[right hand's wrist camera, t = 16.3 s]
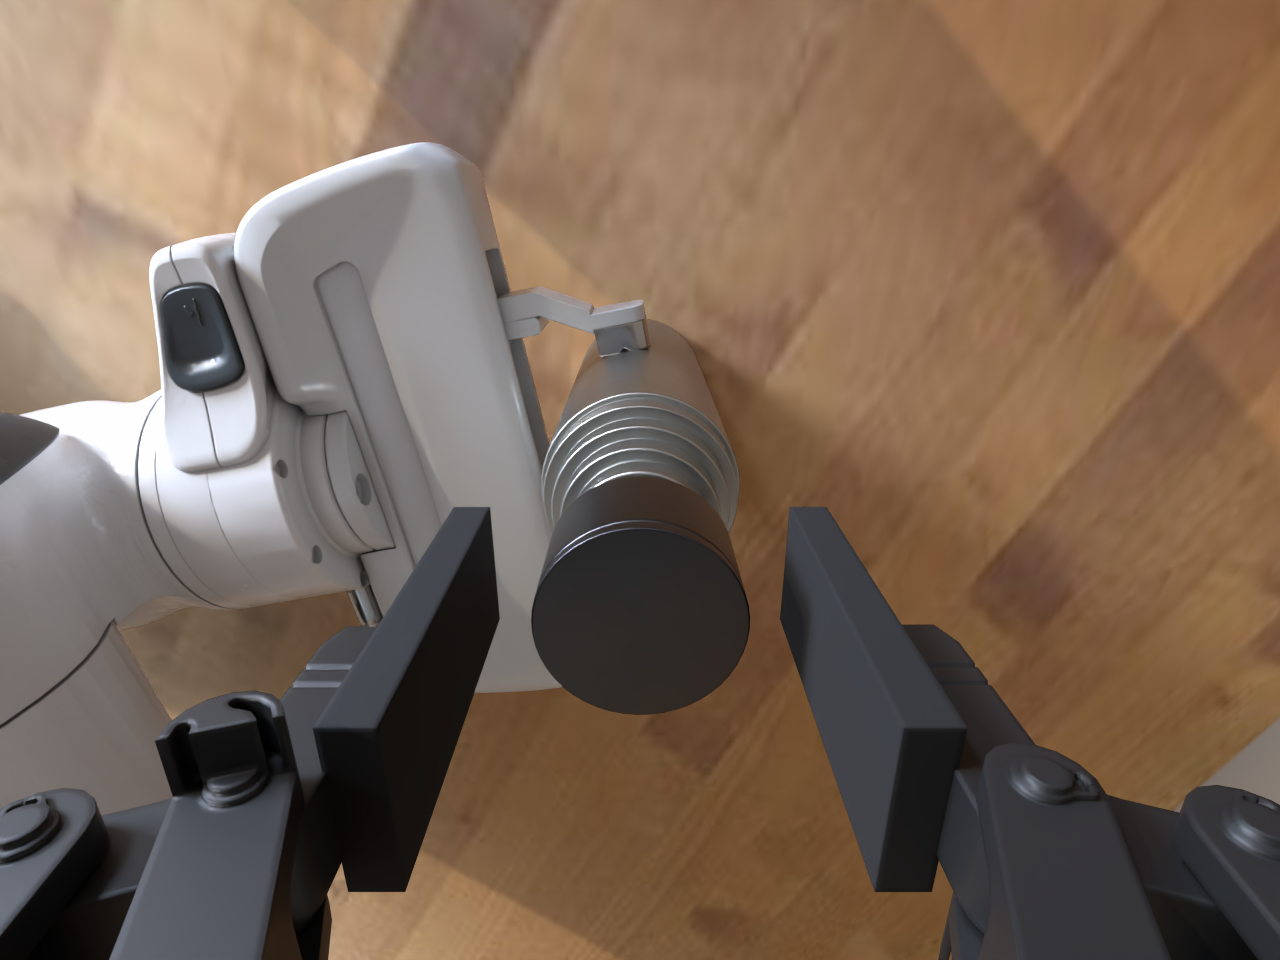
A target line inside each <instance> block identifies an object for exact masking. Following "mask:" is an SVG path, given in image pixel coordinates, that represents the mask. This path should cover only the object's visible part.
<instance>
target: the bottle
mask: <svg viewBox="0 0 1280 960" xmlns="http://www.w3.org/2000/svg"><path fill="white" fill-rule="evenodd" d="M647 325H648V331H649V337H650V346H649V347H647V348H644V349H640V350H628V349H626V348H624V349H623V350H622V351H621V352H620V353H617V354H614V355H608V356H603V357H600V354H599V350H598V346H597V341H596V339H595V340H594V342H593V343H592V344H591V346H590V347H589V349H588V351H587V353H586V355H585V357H584V360H583V362H582V365H581V367H580V370H579V372H578V375H577V377H576V380H575V383H574V385H573V388H572V390H571V393H570V395H569V398H568V400H567V403H566V405H565V408H564V410H563V413H562V416H561V418H560V421H559V423H558V426H557V428H556V431H555V433H554V436H553V438H552V441H551V444H550V446H549V449H548V451H547V454H546V457H545V460H544V464H543V469H542V475H541V493H542V501H543V505H544V512H545V516H546V520H547V523H548V526H549V528H550V530H551V533H552V534H553V531H554V528H555V526H556V524H557V522H558V521H559V519H560V517H561V516H562V514H563V513H564V512H565V510H566V509H567V508H568V507H569V506H570V505H571V504H572V503H573V502H574V501H575V500H576V499H577V498H579V497H580V496H581V495H582V494H584V493H585V492H587V491H589V490H590V489H592V488H594V487H595V486H598V485H600V484H603V483H605V482H608V481H611V480H615V479H618V478H625V477H631V476H648V477H658V478H662V479H666V480H670V481H673V482H676V483H679V484H681V485H683V486H685V487H687V488H689V489H691V490H693V491H694V492H696V493H697V494H699V495H700V496H701V497H703V498H704V499H705V500H706V501H707V502H708V503H709V504H710V505H711V506H712V507H713V508H714V509H715V511H716V512H717V513H718V514H719V516H720V517H721V519H722V521H723V522H724V524H725V526H726V529H727V531H728V533H729V532H730V530H731V528H732V525H733V523H734V519H735V515H736V512H737V504H738V499H739V491H740V476H739V470H738V464H737V461H736V458H735V454H734V452H733V449H732V447H731V444H730V442H729V439H728V437H727V434H726V431H725V429H724V426H723V424H722V421H721V419H720V416H719V414H718V411H717V409H716V406H715V404H714V401H713V399H712V396H711V394H710V391H709V388H708V386H707V383H706V381H705V378H704V376H703V373H702V371H701V368H700V366H699V363H698V361H697V358H696V356H695V354H694V351H693V349H692V348H691V346H690V345H689V343H688V342H687V341H686V340H685V338H684V337H683V336H682V335H680V334H679V333H678V332H677V331H676V330H674V329H673V328H671V327H669V326H667V325H665V324H663V323H660V322H657V321H653V320H648V319H647Z"/></svg>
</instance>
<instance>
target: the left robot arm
mask: <svg viewBox="0 0 1280 960" xmlns="http://www.w3.org/2000/svg"><path fill="white" fill-rule="evenodd" d="M149 279H150V289H151V297H152V304H153V311H154V318H155V326H156V334H157V343H158V352H159V362H160V374H161V390H159V391H157V392H156V393H154V394H152V395H150V396H149V397H147V398H145V399H143V400H141V401H138V402H133V403H126V402H116V401H106V400H100V401H83V402H76V403H71V404H66V405H61V406H56V407H52V408H47V409H42V410H38V411H33V412H29V413H25V414H21V415H15V414H9V413H3V412H0V809H1V808H2V807H4V806H6V805H8V804H10V803H12V802H15V801H17V800H20V799H23V798H25V797H28V796H31V795H33V794H36V793H38V792H44V791H49V790H55V789H61V788H71V789H80V790H85V791H86V792H87V793H88V794H90V795H91V796H92V797H94V798H95V800H96V803H97V806H98V808H99V811H100V814H101V816H102V815H106V814H110V813H114V812H118V811H123V810H127V809H131V808H135V807H140V806H144V805H148V804H152V803H157V802H160V801H164V800H167V799H170V798H172V797H173V796H172V793H171V790H170V787H169V784H168V780H167V777H166V774H165V771H164V768H163V765H162V762H161V759H160V756H159V753H158V750H157V747H156V744H155V740H156V738H157V737H158V736H159V734H160V733H161V732H162V730H163V729H164V728H165V726H166V725H167V724H168V723H170V722H171V721H172V719H171V718H170V716H169V714H168V713H167V711H166V709H165V708H164V706H163V704H162V703H161V701H160V699H159V698H158V696H157V694H156V693H155V691H154V689H153V687H152V686H151V684H150V682H149V681H148V679H147V677H146V676H145V674H144V672H143V671H142V669H141V667H140V666H139V664H138V662H137V661H136V659H135V657H134V656H133V654H132V652H131V650H130V649H129V647H128V645H127V644H126V642H125V640H124V639H123V637H122V635H121V634H120V632H119V630H122V629H128V628H133V627H137V626H141V625H145V624H149V623H152V622H155V621H157V620H160V619H162V618H164V617H166V616H169V615H171V614H172V613H174V612H176V611H178V610H181V609H184V608H188V607H195V608H203V609H210V610H238V609H244V608H251V607H257V606H262V605H268V604H274V603H280V602H286V601H291V600H297V599H303V598H308V597H314V596H320V595H326V594H332V593H338V592H344V591H347V594H348V596H349V599H350V601H351V604H352V606H353V609H354V611H355V614H356V616H357V618H358V620H359V622H360V624H361V626H362V627H377V626H378V625H379V623H380V622H381V620H382V619H383V617H384V615H385V614H386V612H387V611H388V609H389V608H390V606H391V604H392V603H393V601H394V600H395V598H396V597H397V595H398V593H399V592H400V590H401V589H402V587H403V586H404V584H405V583H406V581H407V579H408V578H409V576H410V575H411V573H412V572H413V570H414V568H415V567H416V565H417V564H418V562H419V561H420V559H421V558H422V556H423V554H424V553H425V551H426V550H427V548H428V547H429V545H430V543H431V542H432V540H433V539H434V537H435V536H436V534H437V532H438V531H439V529H440V528H441V526H442V525H443V523H444V522H445V520H446V518H447V517H448V515H449V514H450V512H451V511H452V509H453V507H490V512H491V523H492V535H493V546H494V558H495V569H496V581H497V592H498V603H499V615H500V620H499V623H498V626H497V629H496V632H495V635H494V637H493V640H492V643H491V646H490V649H489V652H488V655H487V658H486V660H485V663H484V666H483V669H482V672H481V675H480V678H479V681H478V683H477V686H476V689H475V692H474V693H502V692H522V691H535V690H546V689H554V688H561V687H562V686H561V685H560V684H559V683H558V682H557V681H556V680H555V679H554V678H553V676H552V675H551V674H550V673H549V671H548V670H547V669H546V667H545V665H544V664H543V662H542V660H541V659H540V657H539V654H538V652H537V649H536V647H535V643H534V639H533V635H532V627H531V615H532V607H533V602H534V597H535V594H536V590H537V586H538V583H539V579H540V576H541V572H542V568H543V565H544V561H545V558H546V554H547V550H548V547H549V543H550V539H551V536H552V533H551V530H550V528H549V526H548V523H547V520H546V516H545V512H544V505H543V501H542V493H541V475H542V469H543V464H544V460H545V457H546V454H547V451H548V449H549V446H550V444H549V440H548V436H547V432H546V428H545V424H544V420H543V416H542V413H541V409H540V405H539V401H538V397H537V393H536V389H535V385H534V381H533V377H532V373H531V369H530V365H529V361H528V357H527V353H526V349H525V345H524V341H523V338H524V337H529V336H533V335H538V334H539V333H540V332H541V331H542V330H543V329H544V327H545V326H546V325H547V324H548V322H549V321H548V319H549V320H552V321H555V322H558V323H561V324H565V325H568V326H571V327H574V328H577V329H580V330H583V331H586V332H589V333H592V334H594V333H595V337H596V341H597V346H598V350H599V354H600V357H603V356H608V355H614V354H617V353H620V352H621V351H622V350H623V349H624V348H626V349H628V350H640V349H644V348H647V347H649V346H650V337H649V331H648V325H647V319H646V314H645V308H644V303H643V300H633V301H628V302H623V303H618V304H613V305H608V306H602V307H597V308H594V307H593V305H592V304H590V303H587V302H584V301H581V300H578V299H576V298H573V297H570V296H567V295H565V294H562V293H559V292H556V291H553V290H551V289H548V288H545V287H542V286H539V287H534V288H529V289H524V290H519V291H514V292H511V289H510V285H509V281H508V277H507V274H506V270H505V266H504V262H503V258H502V254H501V250H500V246H499V242H498V238H497V234H496V230H495V226H494V222H493V218H492V214H491V210H490V206H489V202H488V198H487V194H486V190H485V186H484V182H483V178H482V175H481V172H480V170H479V169H478V167H477V166H476V165H475V164H474V163H472V162H471V161H469V160H468V159H466V158H465V157H463V156H462V155H460V154H459V153H457V152H455V151H453V150H452V149H450V148H448V147H445V146H443V145H440V144H436V143H428V142H424V143H414V144H408V145H403V146H399V147H394V148H390V149H387V150H383V151H379V152H376V153H372V154H369V155H365V156H362V157H359V158H356V159H353V160H350V161H347V162H344V163H341V164H338V165H335V166H333V167H330V168H327V169H324V170H322V171H319V172H317V173H314V174H312V175H309V176H307V177H304V178H302V179H300V180H297V181H295V182H293V183H290V184H288V185H286V186H284V187H282V188H280V189H278V190H276V191H274V192H272V193H270V194H268V195H267V196H265V197H264V198H262V199H261V200H260V201H259V202H257V203H256V204H255V205H254V206H253V207H252V208H251V209H250V210H249V211H248V212H247V214H246V215H245V216H244V218H243V219H242V221H241V223H240V225H239V227H238V230H237V233H228V234H217V235H212V236H206V237H201V238H196V239H192V240H188V241H184V242H181V243H178V244H175V245H172V246H169V247H166V248H163V249H161V250H159V251H158V252H157V253H155V255H154V256H153V258H152V260H151V263H150V270H149Z"/></svg>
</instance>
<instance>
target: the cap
mask: <svg viewBox="0 0 1280 960" xmlns="http://www.w3.org/2000/svg"><path fill="white" fill-rule="evenodd" d="M531 627H532V635H533V639H534V643H535V647H536V649H537V652H538V654H539V657H540V659H541V660H542V662H543V664H544V665H545V667H546V669H547V670H548V671H549V673H550V674H551V675H552V676H553V678H554V679H555V680H556V681H557V682H558V683H559V684H560V685H561V686H562V687H563V688H565V689H566V690H567V691H569V692H570V693H571V694H573V695H574V696H576V697H578V698H579V699H581V700H583V701H585V702H587V703H589V704H591V705H594V706H596V707H599V708H602V709H605V710H608V711H613V712H618V713H623V714H634V715H646V714H657V713H664V712H668V711H673V710H677V709H679V708H682V707H685V706H688V705H690V704H692V703H694V702H696V701H698V700H700V699H702V698H703V697H705V696H707V695H708V694H710V693H711V692H712V691H714V690H715V689H716V688H717V687H719V686H720V685H721V684H722V683H723V682H724V681H725V680H726V679H727V678H728V676H729V675H730V674H731V673H732V671H733V670H734V669H735V667H736V666H737V664H738V662H739V660H740V658H741V656H742V655H743V652H744V649H745V647H746V644H747V640H748V635H749V629H750V614H749V605H748V601H747V598H746V594H745V590H744V587H743V583H742V580H741V576H740V573H739V569H738V565H737V562H736V558H735V555H734V551H733V547H732V544H731V540H730V537H729V533H728V531H727V529H726V526H725V524H724V522H723V521H722V519H721V517H720V516H719V514H718V513H717V512H716V511H715V509H714V508H713V507H712V506H711V505H710V504H709V503H708V502H707V501H706V500H705V499H704V498H703V497H701V496H700V495H699V494H697V493H696V492H694V491H693V490H691V489H689V488H687V487H685V486H683V485H681V484H679V483H676V482H673V481H670V480H666V479H662V478H658V477H648V476H631V477H625V478H618V479H615V480H611V481H608V482H605V483H603V484H600V485H598V486H595V487H594V488H592V489H590V490H589V491H587V492H585V493H584V494H582V495H581V496H580V497H579V498H577V499H576V500H575V501H574V502H573V503H572V504H571V505H570V506H569V507H568V508H567V509H566V510H565V512H564V513H563V514H562V516H561V517H560V519H559V521H558V522H557V524H556V526H555V528H554V531H553V534H552V536H551V539H550V543H549V547H548V550H547V554H546V558H545V561H544V565H543V568H542V572H541V576H540V579H539V583H538V586H537V590H536V594H535V597H534V602H533V607H532V615H531Z"/></svg>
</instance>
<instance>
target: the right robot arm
mask: <svg viewBox="0 0 1280 960" xmlns="http://www.w3.org/2000/svg"><path fill="white" fill-rule="evenodd" d="M499 620H500V615H499V603H498V592H497V581H496V569H495V558H494V546H493V535H492V523H491V512H490V507H453V509H452V511H451V512H450V514H449V515H448V517H447V518H446V520H445V522H444V523H443V525H442V526H441V528H440V529H439V531H438V532H437V534H436V536H435V537H434V539H433V540H432V542H431V543H430V545H429V547H428V548H427V550H426V551H425V553H424V554H423V556H422V558H421V559H420V561H419V562H418V564H417V565H416V567H415V568H414V570H413V572H412V573H411V575H410V576H409V578H408V579H407V581H406V583H405V584H404V586H403V587H402V589H401V590H400V592H399V593H398V595H397V597H396V598H395V600H394V601H393V603H392V604H391V606H390V608H389V609H388V611H387V612H386V614H385V615H384V617H383V619H382V620H381V622H380V623H379V625H378V626H377V627H346V628H344V629H343V630H342V631H340V632H339V633H337V634H336V635H334V636H333V637H332V638H330V639H329V640H327V641H326V642H325V643H323V644H322V645H321V646H320V647H319V649H318V650H317V651H316V653H315V654H314V655H313V657H312V658H311V659H310V661H309V662H308V663H307V665H306V669H305V670H302V671H301V673H300V674H299V675H298V677H297V678H296V680H295V681H294V682H293V687H292V688H289V689H288V690H287V692H286V693H285V694H284V696H283V697H282V698H281V700H280V701H279V700H278V699H277V698H276V697H275V696H273V695H272V694H268V693H263V692H258V691H246V692H233V693H229V694H226V695H222V696H219V697H215V698H212V699H208V700H206V701H204V702H202V703H200V704H198V705H196V706H194V707H192V708H190V709H188V710H186V711H184V712H183V713H182V714H180V715H179V716H178V717H176V718H175V719H174V720H172V721H171V722H170V723H168V724H167V725H166V726H165V728H164V729H163V730H162V732H161V733H160V734H159V736H158V737H157V738H156V740H155V744H156V747H157V750H158V753H159V756H160V759H161V762H162V765H163V768H164V771H165V774H166V777H167V780H168V784H169V787H170V790H171V793H172V796H173V797H172V798H170V799H167V800H164V801H160V802H157V803H152V804H148V805H144V806H140V807H135V808H131V809H127V810H123V811H118V812H114V813H110V814H106V815H102V816H101V814H100V811H99V808H98V806H97V803H96V800H95V798H94V797H92V796H91V795H90V794H88V793H87V792H86V791H85V790H80V789H71V788H61V789H55V790H49V791H44V792H38V793H36V794H33V795H31V796H28V797H25V798H23V799H20V800H17V801H15V802H12V803H10V804H8V805H6V806H4V807H2V808H1V809H0V960H328V955H329V944H330V934H331V923H332V918H331V911H330V904H329V900H328V896H327V893H328V890H329V888H330V886H331V884H332V882H333V880H334V877H335V875H336V873H337V871H338V869H339V867H340V864H341V862H342V866H343V870H344V875H345V879H346V884H347V888H348V892H405V891H406V888H407V885H408V882H409V879H410V876H411V874H412V871H413V868H414V865H415V862H416V859H417V856H418V853H419V850H420V848H421V845H422V842H423V839H424V836H425V833H426V830H427V827H428V825H429V822H430V819H431V816H432V813H433V810H434V807H435V804H436V802H437V799H438V796H439V793H440V790H441V787H442V784H443V781H444V779H445V776H446V773H447V770H448V767H449V764H450V761H451V758H452V755H453V753H454V750H455V747H456V744H457V741H458V738H459V735H460V732H461V730H462V727H463V724H464V721H465V718H466V715H467V712H468V709H469V707H470V704H471V701H472V698H473V695H474V692H475V689H476V686H477V683H478V681H479V678H480V675H481V672H482V669H483V666H484V663H485V660H486V658H487V655H488V652H489V649H490V646H491V643H492V640H493V637H494V635H495V632H496V629H497V626H498V623H499ZM780 620H781V623H782V626H783V629H784V632H785V635H786V637H787V640H788V643H789V646H790V649H791V652H792V655H793V658H794V660H795V663H796V666H797V669H798V672H799V675H800V678H801V681H802V683H803V686H804V689H805V692H806V695H807V698H808V701H809V704H810V707H811V709H812V712H813V715H814V718H815V721H816V724H817V727H818V730H819V732H820V735H821V738H822V741H823V744H824V747H825V750H826V753H827V755H828V758H829V761H830V764H831V767H832V770H833V773H834V776H835V779H836V781H837V784H838V787H839V790H840V793H841V796H842V799H843V802H844V804H845V807H846V810H847V813H848V816H849V819H850V822H851V825H852V827H853V830H854V833H855V836H856V839H857V842H858V845H859V848H860V850H861V853H862V856H863V859H864V862H865V865H866V868H867V871H868V874H869V876H870V879H871V882H872V885H873V888H874V891H875V892H932V888H933V884H934V879H935V875H936V870H937V866H938V861H940V863H941V865H942V868H943V870H944V872H945V874H946V876H947V878H948V880H949V883H950V885H951V887H952V889H953V896H952V900H951V904H950V908H949V913H948V917H947V921H946V925H945V930H944V934H943V938H942V942H941V948H940V955H939V960H949V956H950V952H951V953H952V960H1280V805H1279V804H1277V803H1275V802H1273V801H1271V800H1269V799H1266V798H1264V797H1261V796H1258V795H1256V794H1253V793H1250V792H1248V791H1245V790H1242V789H1236V788H1231V787H1225V786H1220V785H1212V786H1202V787H1197V788H1195V789H1194V790H1193V791H1192V792H1190V793H1189V794H1188V795H1186V798H1185V800H1184V803H1183V806H1182V808H1181V811H1180V813H1178V812H1174V811H1170V810H1165V809H1161V808H1157V807H1153V806H1148V805H1144V804H1140V803H1136V802H1131V801H1127V800H1123V799H1119V798H1116V797H1113V796H1110V795H1106V793H1105V791H1104V790H1103V788H1102V787H1101V785H1100V784H1099V782H1098V781H1097V779H1096V778H1095V777H1093V776H1092V775H1091V774H1090V773H1089V772H1088V771H1086V770H1085V769H1084V768H1083V767H1082V766H1081V765H1079V764H1078V763H1076V762H1074V761H1073V760H1071V759H1069V758H1067V757H1065V756H1063V755H1062V754H1060V753H1058V752H1056V751H1053V750H1050V749H1046V748H1043V747H1040V746H1037V745H1035V743H1034V742H1033V741H1032V739H1031V738H1030V737H1029V735H1028V734H1027V733H1026V731H1025V730H1024V729H1023V727H1022V726H1021V725H1020V723H1019V722H1018V721H1017V719H1016V718H1015V717H1014V715H1013V714H1012V713H1011V711H1010V710H1009V709H1008V707H1007V706H1006V705H1005V703H1004V702H1003V701H1002V699H1001V698H1000V697H999V695H998V694H997V693H996V691H995V690H994V689H993V687H992V686H991V685H988V681H987V679H986V678H985V677H984V675H983V674H982V673H981V671H980V670H979V669H978V668H975V663H974V662H973V661H972V659H971V658H970V657H969V655H968V654H967V652H966V651H965V650H964V648H963V647H962V646H961V644H960V643H959V642H958V641H956V640H955V639H953V638H952V637H950V636H949V635H948V634H946V633H945V632H943V631H942V630H940V629H939V628H938V627H936V626H935V625H901V623H900V622H899V620H898V619H897V617H896V615H895V614H894V612H893V611H892V609H891V608H890V606H889V604H888V603H887V601H886V600H885V598H884V597H883V595H882V594H881V592H880V590H879V589H878V587H877V586H876V584H875V583H874V581H873V579H872V578H871V576H870V575H869V573H868V572H867V570H866V568H865V567H864V565H863V564H862V562H861V561H860V559H859V558H858V556H857V554H856V553H855V551H854V550H853V548H852V547H851V545H850V543H849V542H848V540H847V539H846V537H845V536H844V534H843V532H842V531H841V529H840V528H839V526H838V525H837V523H836V522H835V520H834V518H833V517H832V515H831V514H830V512H829V511H828V509H827V507H790V512H789V523H788V535H787V546H786V558H785V569H784V580H783V592H782V603H781V615H780Z"/></svg>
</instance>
